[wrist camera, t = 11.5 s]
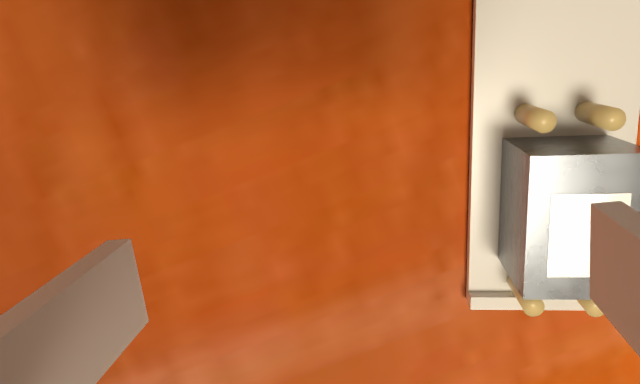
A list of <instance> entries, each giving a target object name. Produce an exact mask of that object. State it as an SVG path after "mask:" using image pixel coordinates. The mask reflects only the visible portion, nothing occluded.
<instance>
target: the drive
mask: <svg viewBox="0 0 640 384" xmlns="http://www.w3.org/2000/svg"><path fill="white" fill-rule="evenodd" d="M614 201H622V202H624V203H625V204H627V205H628V206H630V207H631V208H633V209H635V210H636V211H638V212H639V213H640V146H638V145H636V144H633V143H630V142H627V141H624V140H621V139H618V138H615V137H612V136H610V135H578V136H546V137H514V138H502V159H501V185H500V211H499V238H498V259H499V261H500V262H501V264H502V265H503V267H504V269H505V270H506V272H507V274H508V275H509V277H510V279H511V280H512V282H513V284H514V285H515V287H516V289H517V290H518V292H519V294H520V295H521V297H522V299H523V300H591V298H590V297H589V294H590V213H591V203H601V202H614Z"/></svg>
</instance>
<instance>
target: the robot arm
mask: <svg viewBox="0 0 640 384" xmlns="http://www.w3.org/2000/svg"><path fill="white" fill-rule="evenodd" d="M589 297H590V298H591V300H592V301H593V302H594V303H595V304H596V305H597V307H598V308H599V309H600V310H601V311H602V313H603V314H604V315H605V316H606V317H607V319H608V320H609V321H610V322H611V323H612V324H613V326H614V327H615V328H616V329H617V330H618V332H619V333H620V334H621V335H622V336H623V338H624V339H625V340H626V341H627V342H628V343H629V345H630V346H631V347H632V348H633V349H634V351H635V352H636V353H637V354H638V355H639V357H640V213H639V212H638V211H636V210H635V209H633V208H631V207H630V206H628V205H627V204H625V203H624V202H622V201H614V202H601V203H591V213H590V294H589ZM148 321H149V320H148V315H147V311H146V306H145V302H144V297H143V293H142V288H141V283H140V279H139V274H138V270H137V265H136V261H135V256H134V251H133V247H132V242H131V239H120V240H107V241H106V242H104V243H103V244H101V245H100V246H99V247H97V248H96V249H94V250H93V251H91V252H90V253H89V254H87V255H86V256H84V257H83V258H82V259H80V260H79V261H77V262H76V263H74V264H73V265H72V266H70V267H69V268H67V269H66V270H65V271H63V272H62V273H60V274H59V275H57V276H56V277H55V278H53V279H52V280H50V281H49V282H48V283H46V284H45V285H43V286H42V287H40V288H39V289H38V290H36V291H35V292H33V293H32V294H31V295H29V296H28V297H26V298H25V299H23V300H22V301H21V302H19V303H18V304H16V305H15V306H14V307H12V308H11V309H9V310H8V311H6V312H5V313H4V314H2V315H1V316H0V384H96V383H97V382H98V380H99V379H100V378H101V377H102V376H103V375H104V373H105V372H106V371H107V370H108V369H109V367H110V366H111V365H112V364H113V363H114V362H115V360H116V359H117V358H118V357H119V356H120V354H121V353H122V352H123V351H124V350H125V349H126V347H127V346H128V345H129V344H130V343H131V341H132V340H133V339H134V338H135V337H136V336H137V334H138V333H139V332H140V331H141V330H142V328H143V327H144V326H145V325H146V324H147V323H148Z"/></svg>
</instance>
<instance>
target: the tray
mask: <svg viewBox="0 0 640 384" xmlns="http://www.w3.org/2000/svg"><path fill="white" fill-rule="evenodd" d="M639 110H640V0H474V1H473V41H472V81H471V121H470V160H469V200H468V240H467V280H466V299H467V302H468V304H469V307H470V310H523V311H524V312H525V313H526V314H527V315H528V316H532V317H534V316H538V315H540V314H541V313H542V312H543V311H544V310H585V311H586V312H587V313H588V314H589V315H590V316H592V317H599V316H602V315H603V313H602V311H601V310H600V309H599V308H598V307H597V305H596V304H595V303H594V302H593V301H592V300H523V299H522V297H521V295H520V294H519V292H518V290H517V289H516V287H515V285H514V284H513V282H512V280H511V279H510V277H509V275H508V274H507V272H506V270H505V269H504V267H503V265H502V264H501V262H500V261H499V259H498V238H499V211H500V185H501V159H502V138H514V137H546V136H578V135H610V136H612V137H615V138H618V139H621V140H624V141H627V142H630V143H633V144H636V139H637V129H638V120H639Z"/></svg>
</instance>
